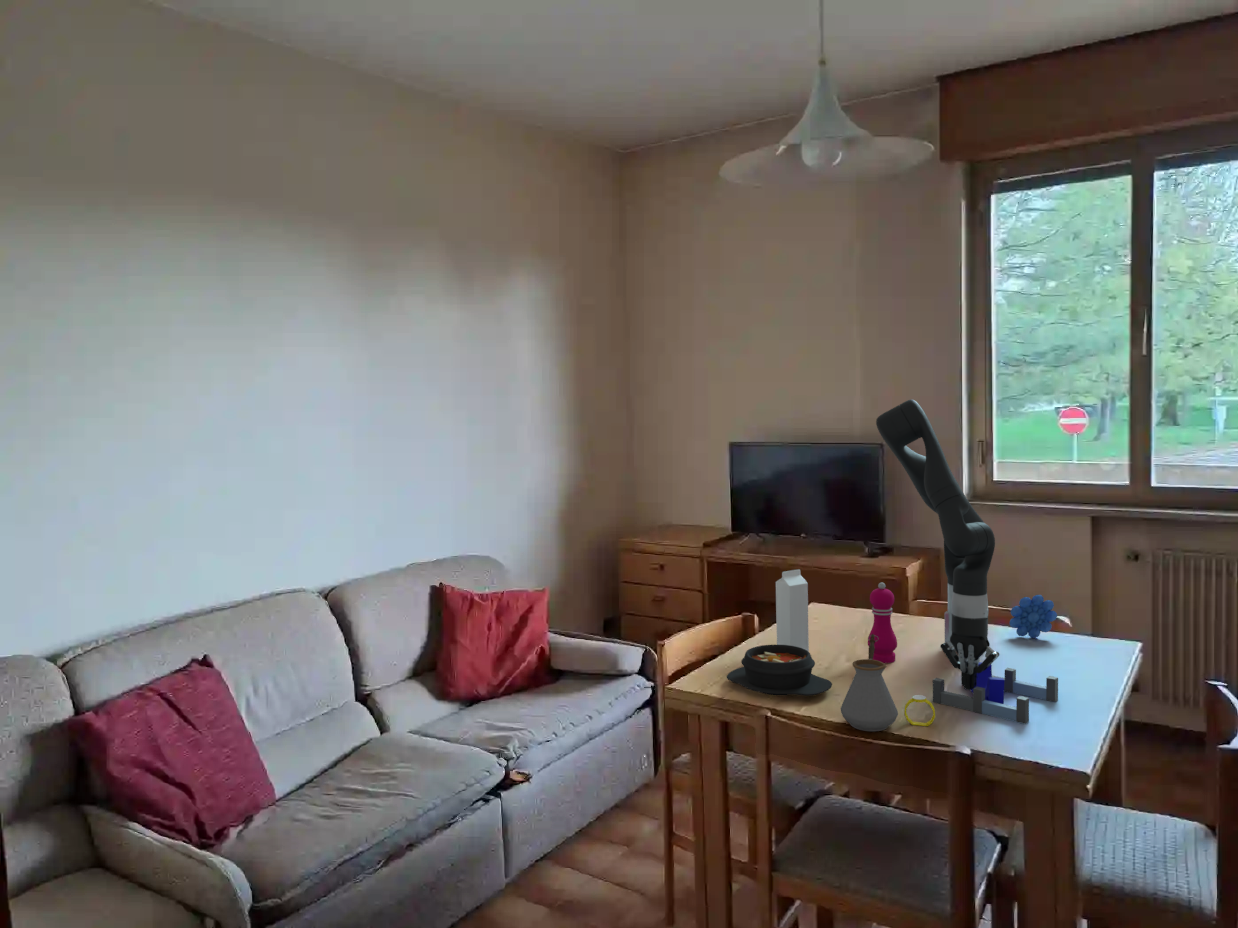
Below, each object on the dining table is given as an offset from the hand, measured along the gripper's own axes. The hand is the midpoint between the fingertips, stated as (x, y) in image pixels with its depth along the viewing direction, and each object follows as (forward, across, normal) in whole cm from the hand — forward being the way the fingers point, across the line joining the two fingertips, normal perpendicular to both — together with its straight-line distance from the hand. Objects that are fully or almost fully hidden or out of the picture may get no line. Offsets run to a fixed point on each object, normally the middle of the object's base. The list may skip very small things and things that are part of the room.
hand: (969, 688), depth 197 cm
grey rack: (+2, +6, 0) cm, 6 cm away
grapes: (+2, -7, +54) cm, 55 cm away
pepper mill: (+2, -28, +11) cm, 30 cm away
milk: (+2, -48, +2) cm, 48 cm away
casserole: (+2, -35, -23) cm, 42 cm away
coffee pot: (+2, -10, -25) cm, 27 cm away
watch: (+2, 0, -23) cm, 23 cm away
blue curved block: (+2, +3, +2) cm, 4 cm away
